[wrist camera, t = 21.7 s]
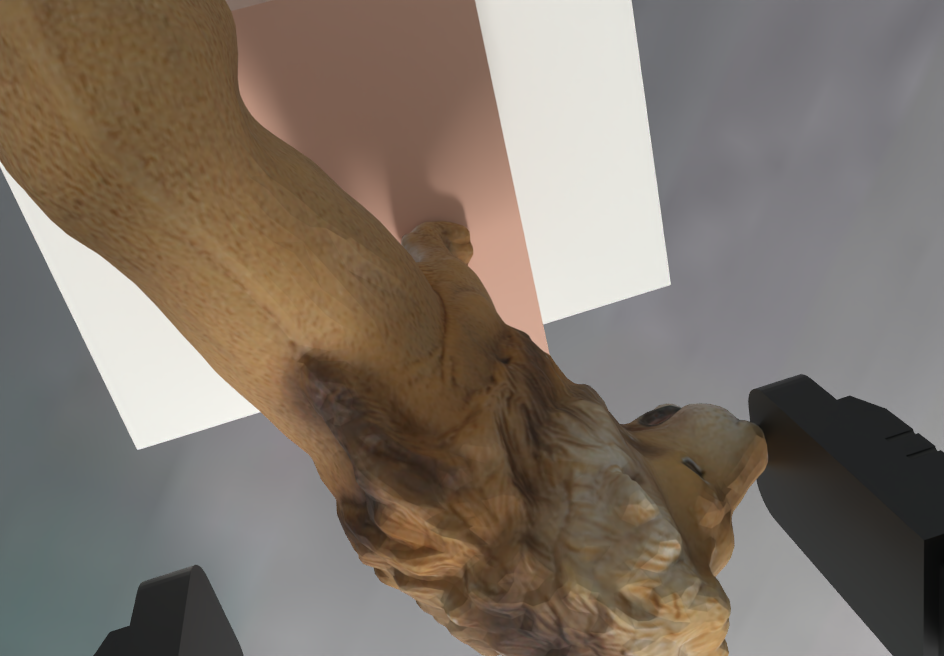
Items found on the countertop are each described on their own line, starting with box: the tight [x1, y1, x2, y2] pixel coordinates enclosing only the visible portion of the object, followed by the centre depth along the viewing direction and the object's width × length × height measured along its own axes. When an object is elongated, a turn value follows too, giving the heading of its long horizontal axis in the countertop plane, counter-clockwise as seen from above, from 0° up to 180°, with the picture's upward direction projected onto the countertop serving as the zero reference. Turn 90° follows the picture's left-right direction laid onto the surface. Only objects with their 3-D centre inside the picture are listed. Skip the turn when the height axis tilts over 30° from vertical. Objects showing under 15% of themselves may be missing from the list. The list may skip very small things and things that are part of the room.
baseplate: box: [0, 0, 671, 450], centre depth 23 cm, size 16×12×1 cm
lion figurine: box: [0, 0, 768, 656], centre depth 12 cm, size 15×5×9 cm, turn 47°
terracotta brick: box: [226, 0, 549, 354], centre depth 19 cm, size 6×9×6 cm, turn 13°
